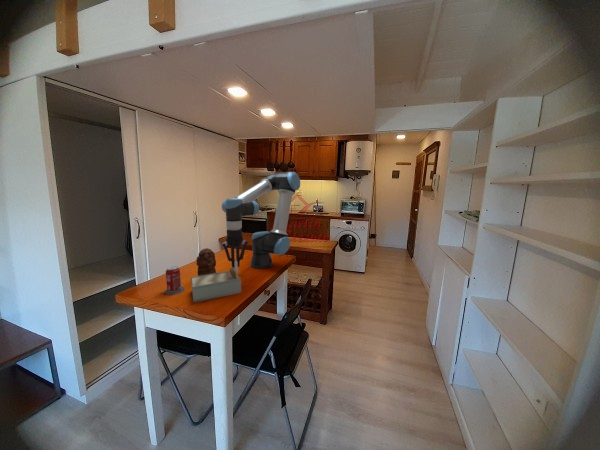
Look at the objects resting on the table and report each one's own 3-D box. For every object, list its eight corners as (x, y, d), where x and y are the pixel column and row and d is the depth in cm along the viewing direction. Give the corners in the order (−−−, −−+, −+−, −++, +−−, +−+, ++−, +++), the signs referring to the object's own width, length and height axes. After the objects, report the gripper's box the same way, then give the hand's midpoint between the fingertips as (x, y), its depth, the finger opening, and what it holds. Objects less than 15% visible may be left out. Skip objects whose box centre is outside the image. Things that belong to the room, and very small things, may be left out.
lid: (235, 272, 122) (234, 266, 122) (239, 280, 112) (239, 273, 112) (192, 279, 112) (191, 273, 112) (193, 288, 102) (192, 281, 102)
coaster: (184, 285, 120) (184, 284, 120) (184, 292, 112) (184, 291, 112) (165, 288, 116) (164, 288, 116) (163, 296, 108) (163, 295, 108)
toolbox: (235, 282, 124) (235, 269, 123) (241, 292, 113) (240, 278, 112) (192, 291, 114) (191, 277, 113) (193, 302, 103) (192, 287, 101)
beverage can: (171, 287, 117) (169, 265, 115) (183, 287, 118) (181, 265, 115) (165, 293, 111) (162, 270, 109) (178, 292, 111) (176, 269, 109)
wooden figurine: (206, 283, 124) (204, 252, 121) (196, 281, 125) (194, 251, 122) (218, 275, 135) (217, 246, 132) (209, 274, 136) (207, 245, 133)
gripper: (245, 226, 119) (246, 268, 123) (219, 228, 113) (221, 272, 117) (249, 229, 112) (250, 273, 116) (222, 231, 106) (224, 277, 110)
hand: (235, 272), depth 117 cm, fingers closed
